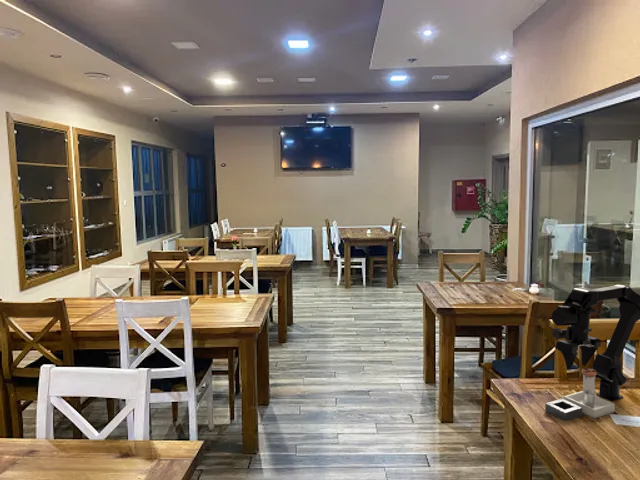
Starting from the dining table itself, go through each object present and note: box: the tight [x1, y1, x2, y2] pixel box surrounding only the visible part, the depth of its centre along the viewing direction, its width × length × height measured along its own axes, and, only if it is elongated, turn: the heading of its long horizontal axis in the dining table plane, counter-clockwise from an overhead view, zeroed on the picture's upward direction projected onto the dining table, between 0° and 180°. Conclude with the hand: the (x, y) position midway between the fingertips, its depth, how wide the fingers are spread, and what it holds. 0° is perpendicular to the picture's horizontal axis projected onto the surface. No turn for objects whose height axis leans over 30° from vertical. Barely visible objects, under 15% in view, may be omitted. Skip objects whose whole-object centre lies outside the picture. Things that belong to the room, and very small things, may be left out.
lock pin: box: [581, 367, 597, 408], centre depth 166 cm, size 5×5×13 cm
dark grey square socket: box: [544, 398, 583, 422], centre depth 163 cm, size 8×8×3 cm
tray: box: [563, 390, 616, 420], centre depth 166 cm, size 10×12×3 cm
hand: (576, 367), depth 169 cm, fingers open, 9 cm apart
